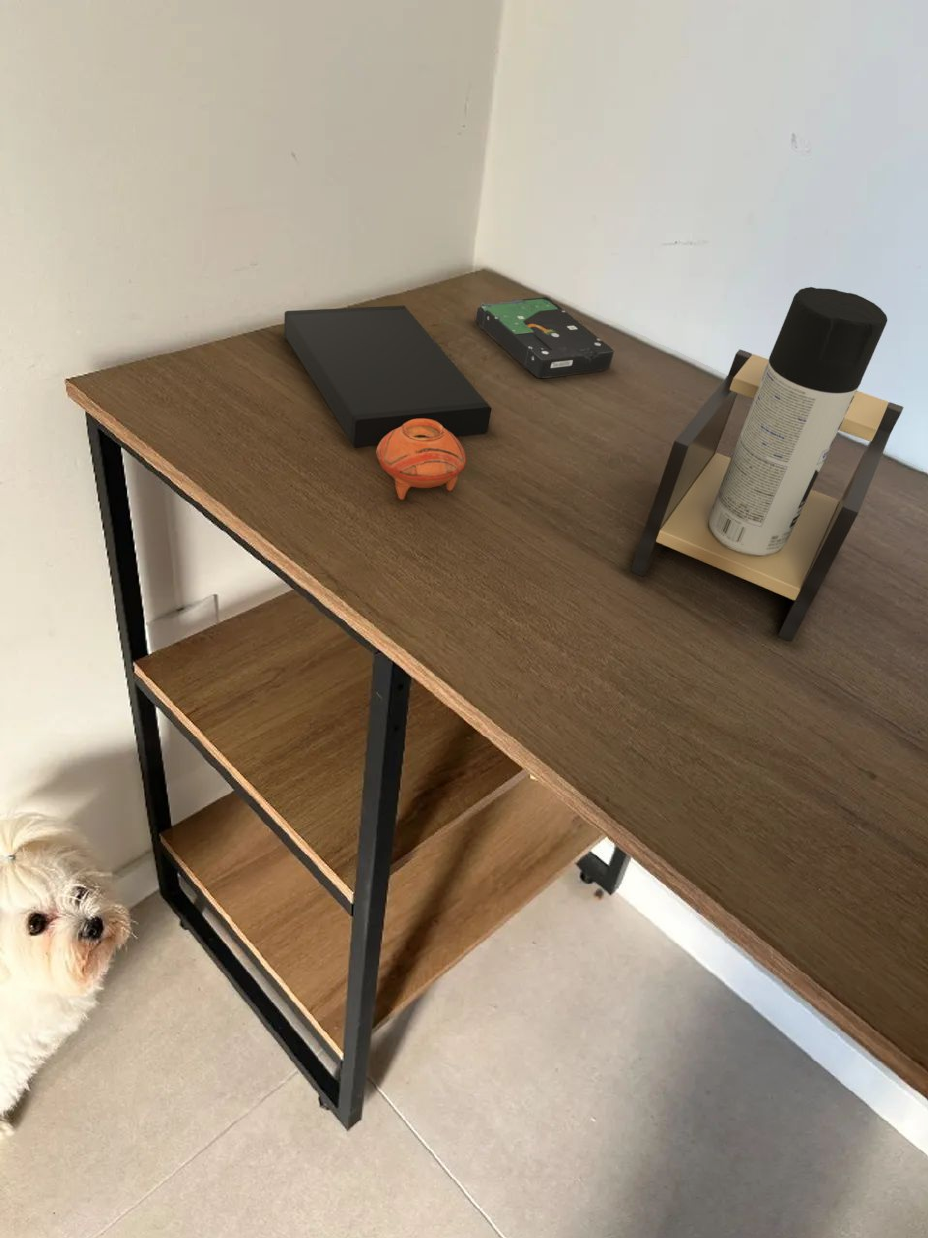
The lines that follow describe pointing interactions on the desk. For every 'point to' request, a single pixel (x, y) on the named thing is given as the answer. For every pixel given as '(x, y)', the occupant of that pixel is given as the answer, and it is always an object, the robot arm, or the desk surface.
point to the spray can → (795, 417)
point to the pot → (421, 456)
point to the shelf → (700, 475)
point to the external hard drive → (382, 372)
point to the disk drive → (544, 337)
